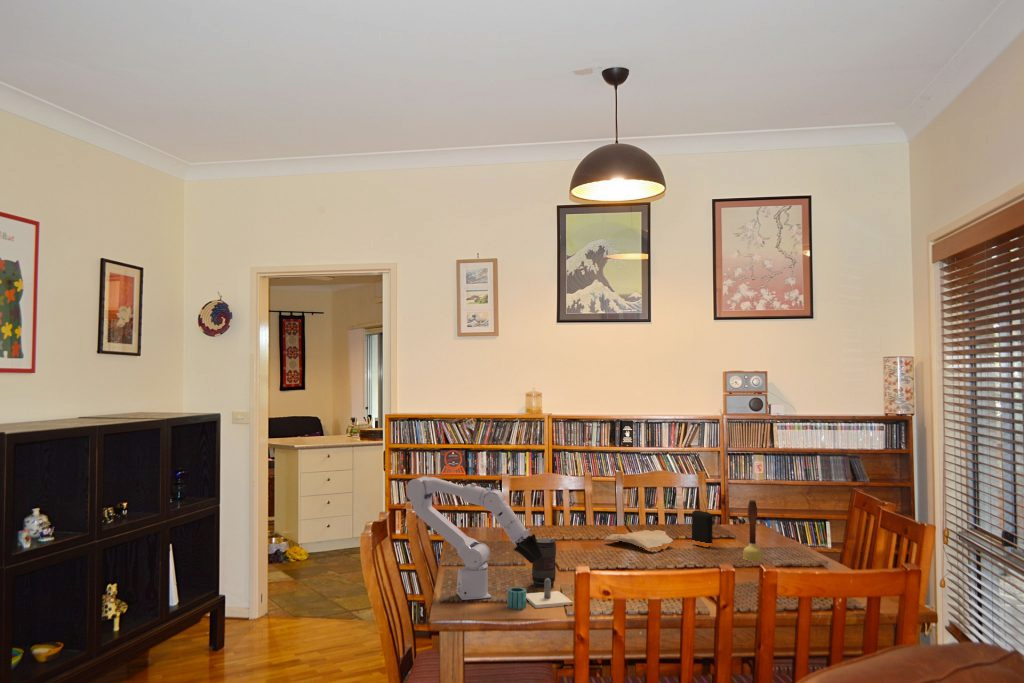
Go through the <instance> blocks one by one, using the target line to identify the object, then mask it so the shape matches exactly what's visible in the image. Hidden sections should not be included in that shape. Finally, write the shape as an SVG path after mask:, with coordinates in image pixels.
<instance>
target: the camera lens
mask: <svg viewBox="0 0 1024 683" xmlns="http://www.w3.org/2000/svg"><path fill="white" fill-rule="evenodd" d="M536 542H537V545H538V547H539V549H540V551H541V554H542V557H541V558H539V559H538V560H535V561H534V562H533V563H532V564H531V565H532V567H531V577H532V578H531V579H532V582H533V583H532V584H533V586H534V585H536V586H537V587H536V588H539V589H544V581H545V579H546V578H549V579H550V580H551V588H552V587H554V582H555V581H556V566H557V565H556V557H557V543H556V540H555V539H554V538H545V537H543V538H536Z"/></svg>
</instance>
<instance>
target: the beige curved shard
mask: <svg viewBox="0 0 1024 683" xmlns="http://www.w3.org/2000/svg"><path fill="white" fill-rule="evenodd" d="M603 541H605V542H614V541H622V542H621V543H628V544H632V545H634V546H636V547H638V546H639V547H638V548H640V547H645V548H654V547H658V546H662V545H663V544H670V543H673V544H674V540H673V538H671V537H670V536H669V535H668V534H667V532H666V531H664V530H659V529H655V530H649V529H647V530H645V529H643V530H641V531H639V530H638V531H633V532H628V533H626V534H623V533H621V534H619V533H613V534H612V533H611V534H609V535H608V536H605V538H604V539H603Z"/></svg>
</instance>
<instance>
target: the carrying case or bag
mask: <svg viewBox="0 0 1024 683" xmlns="http://www.w3.org/2000/svg"><path fill="white" fill-rule="evenodd" d="M714 525H715V520H714V518H713V515H712V514H711V513H710V512H709V511H702V510H699V509H698V510H695V509H694V510H693V511H692V513H691V541H692V540H695V541H700V542H705V543H712V544H713V526H714Z"/></svg>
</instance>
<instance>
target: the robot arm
mask: <svg viewBox="0 0 1024 683" xmlns="http://www.w3.org/2000/svg"><path fill="white" fill-rule="evenodd" d="M436 492H440V493H445V494H449V495H453V496H457V497H461V499H462V500H463V502H465V503H469V504H473V505H475V506H479V507H483V508H484V509H485V510H486V511H489V512H490V513H491V514H492V515H493V516H494V518H495V519H496V521H497V522H498V524H499V525H500V527H501V528H502V529H503V530H504V532H505V533H506V535H507V536H508V538H509V539H510V541H511V543H512V544H514V546H516V547H515V548H513V551H514V552H516V553H518V554H520V555H521V556H522V557H523V558H525V560H526V561H528V562H529V563H530V564H531V565H532V563H533V562H534V561H535V560H538V559H539V558H541V557H542V554H541V551H540V549H539V547H538V545H537V542H536V539H537V538H536V534H535V533H533V534H531V533H530V532H529V531H531V528H530V527H528V528H527V529H526V527H525V526H524V524H523V523H522V521H521V520H520V519H519V518H518V516H517V515H516V513H515V512H514V510H513V509H512V507H511V506H509V504H508V502H507V501H506V498H505V497H506V496H505V494H504V493H503V492H502V491H501V490H499V489H497V488H494V489H491V488H490V487H483V486H477V483H475V482H472V483H471V484H470V483H467V484H466V485H465V486H463V485H460V484H458V483H453V482H451V481H447V480H445V479H441V478H439V477H435V476H428V475H422V476H420V477H417V478H413V479H411V480H409V481H408V483H407V485H406V495H405V496H406V498H407V499H408V500H409V502H410V504H411V506H412V508H413V511H414V513H415V514H416V516H418V518H420V520H422V521H423V522H424V523H425V524H427V525H428V526H429V527H430V528H431V529H432V530H434V531H435V532H436V533H437V534H438V535H440V536H441V537H442V538H443V539H444V540H445V541H446V542H447V543H449V544H450V545H451V546H452V547H453V548H455V550H456V553H457V555H458V557H460V559H461V560H462V562H463V564H464V567H462V568H458V569H457V576H456V578H457V579H456V580H457V583H456V594H457V595H458V597H459V598H460V599H461V601H462V600H463V601H466V600H480V599H481V600H482V599H492V595H491V594H490V593H489V592H488V591H489V590H488V589H489V588H488V578H489V577H488V576H489V574H488V573H489V565H488V561H489V559H490V558H491V550H490V548H489V546H488V545H487V544H486V543H483V542H479V541H478V540H476V539H475V538H472V537H469V536H467V534H466V533H465V532H463V531H462V530H461V529H460V528H458V527H457V526H456V524H454V523H453V522H451V521H450V520H449V519H448V518H447V517H445V516H444V515H443V514H442V513H441V512H439V511H438V510H437V509H436V508H435V507H433V505H432V504H433V495H434V493H436Z"/></svg>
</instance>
